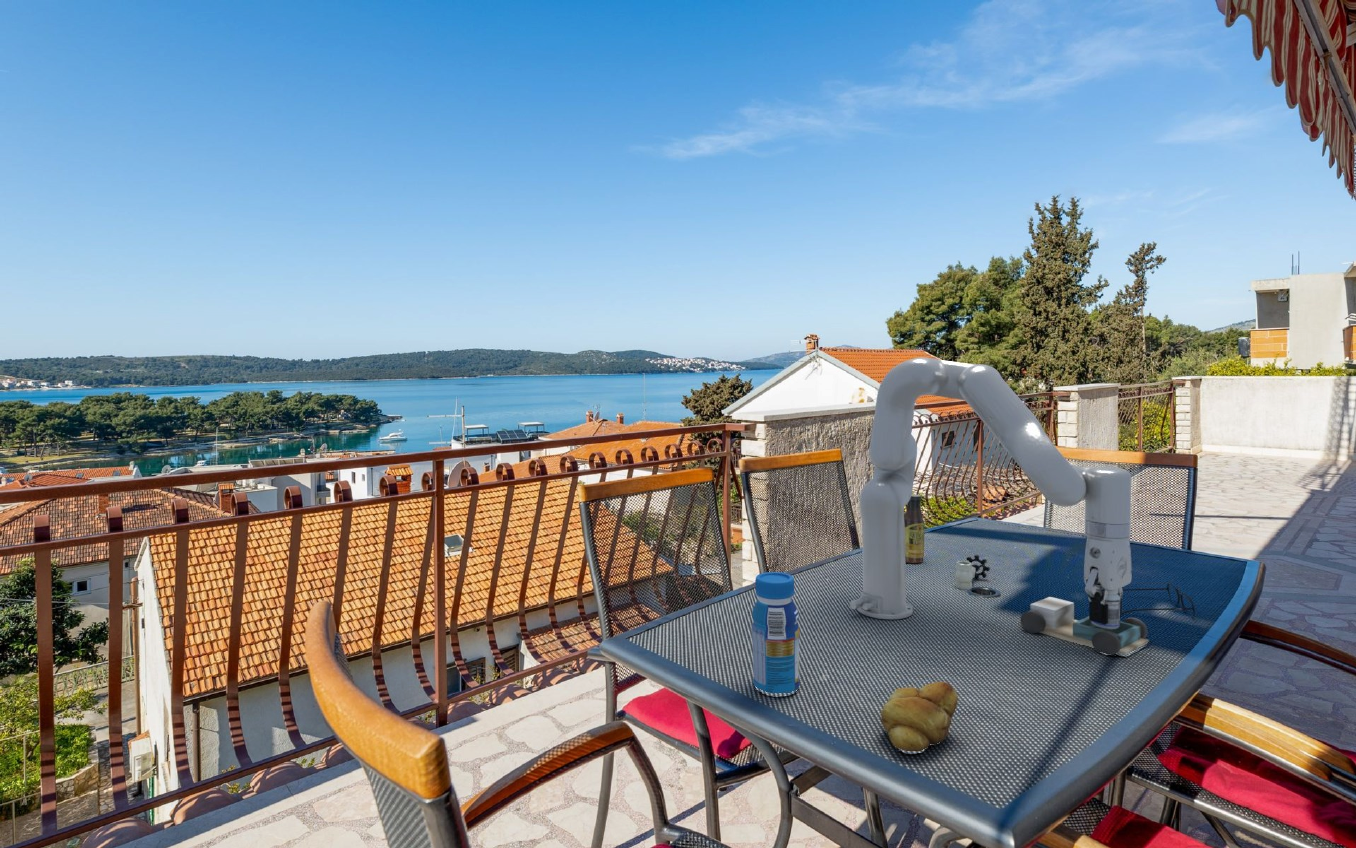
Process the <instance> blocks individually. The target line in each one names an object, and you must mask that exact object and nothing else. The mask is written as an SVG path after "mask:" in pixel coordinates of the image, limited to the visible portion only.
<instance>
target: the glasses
mask: <svg viewBox="0 0 1356 848" xmlns="http://www.w3.org/2000/svg"><path fill="white" fill-rule="evenodd" d="M1170 586H1171V587H1173V589H1174V590H1175V591H1176V594H1177V602H1176V605H1177V604H1178V605H1179V604H1180V603H1181V607H1179V608H1178V607H1177V608H1176V607H1175V608H1173V607H1172V608H1171V607H1169V608H1167V607H1166V608H1165V607H1164V608H1135V609H1128V610H1125V611H1122V615H1124V614H1126V613H1130V612H1141V611H1142V612H1143V611H1184V610H1186V611H1187V610H1190V611H1191V610H1192V611H1193V616H1194V617H1195V616H1196V615H1195V613H1196V611H1195V605H1194V601H1193V600H1192V598H1191V597H1190V596H1188V595H1187V594H1185V593H1183V592H1182V591H1180V590H1179V589H1178V588H1177V587H1176V586H1175V585H1174V584H1172V583H1169V582H1168V583H1167V585H1166V587H1163V588H1159V587H1158V588H1156V587H1155V588H1124V589H1123V588H1122V591H1123V592H1124V591H1158V590H1159V591H1163V590H1165V591H1167V593H1168V598H1169V600H1170V599H1171V600H1172V597H1171V594H1170V592H1171V591H1170ZM1184 596H1185V597H1186V598H1187V600H1189V601H1190V603H1191V604H1190V605H1191V607H1185V603H1184V599H1183V597H1184Z"/></svg>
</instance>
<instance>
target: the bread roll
mask: <svg viewBox="0 0 1356 848" xmlns="http://www.w3.org/2000/svg"><path fill="white" fill-rule="evenodd" d="M958 701H959V696H958V693H957V692H956V690H955V688H954V687H953V686H952V685H951V684H950V683H948V682H947V681H934V682H932V683H928V684H926V685H923V686H922V687H921V688H919V689H918V688H917V687H914V686H909V687H901V688H896V689H895V690H894V691H893V692H892V694H891V695H890V696H889V698H888V700H887V702H886V703H885V704H884V705H883V707H882V709H881V711H880V716H881V720H880V722H881V725H882V726H883V728H884V729H885V731H886V733H887V732H888V733H887V734H888V738H889V740H890V742H891V744H892V743H893V744H892V746H893V747H894V746H896V747H897V748H900V749H902V750H906V751H921V750H923V749H925V748H927V747H928V746H929V745H930V744H937V743H939V742H941V741H942V742H944V741H945V739H946V738H947V737H946V736H948V735H949V728H950V727H951V724H952V718H953V716H954V714H955V712H956V709H957V706H958ZM943 740H944V741H943ZM942 742H941V743H942ZM937 745H938V744H937ZM929 747H930V746H929ZM929 747H928V748H929ZM928 748H927V749H928Z"/></svg>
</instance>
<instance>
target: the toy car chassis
mask: <svg viewBox="0 0 1356 848" xmlns="http://www.w3.org/2000/svg"><path fill="white" fill-rule="evenodd" d="M1020 627H1021V628H1023V629H1024V630H1025V631H1027V632H1028V633H1030V634H1037V633H1040V634H1043V635H1047V636H1049V637H1053V638H1056V639H1060V640H1064V641H1066V642H1069V643H1073V642H1074V643H1073V644H1076V643H1077V645H1079V644H1080V645H1079V646H1082V645H1086V646H1089V647H1094V648H1095V649H1094V650H1095V651H1096V652H1097V653H1099V652H1103V653H1106V654H1111V656H1115V655H1114V654H1116V653H1119V654H1125V655H1126V654H1128V653H1129V652H1132V651H1134V650H1136V649H1137V648H1139V647H1141V646H1143V645H1145V644H1147V643H1148V642H1149V643H1150V639H1148V638H1146V637H1147V636H1148V633H1149V632H1148V631H1149V630H1148V627H1147V625H1146V623H1144V621H1142V620H1141V619H1140V618H1137V617H1133V616H1132V617H1128V618H1125V619H1123V620H1120V621H1119V628H1117V629H1106V628H1101V627H1097V626H1095V625H1093V624H1092V622H1091V620H1090V619H1089V615H1088V616H1086V617H1085V618H1082V619H1079V620H1078V619H1075V602H1072V601H1069V600H1066V599H1062V598H1057V597H1053V596H1048V597H1045V598H1044V599H1043V598H1042V599H1040V600H1038V601H1035V602H1032V603H1030V610H1027V611H1025V612H1024V613H1022V614H1021V617H1020ZM1086 646H1085V647H1086ZM1089 647H1088V648H1089Z"/></svg>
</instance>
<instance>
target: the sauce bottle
mask: <svg viewBox="0 0 1356 848" xmlns="http://www.w3.org/2000/svg"><path fill="white" fill-rule="evenodd" d="M921 502H922V495H920V494H915V493H912V495H911V498H910V500H909V502H908V503H907V505H906V511H905V512H904V524H905V563H909V564H920V563H923V562H924V558H925V528H926V527H925V526H926V525H925V524H926V523H925V521H924V520H925V519H924V517H923V514H922V509H921Z"/></svg>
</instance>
